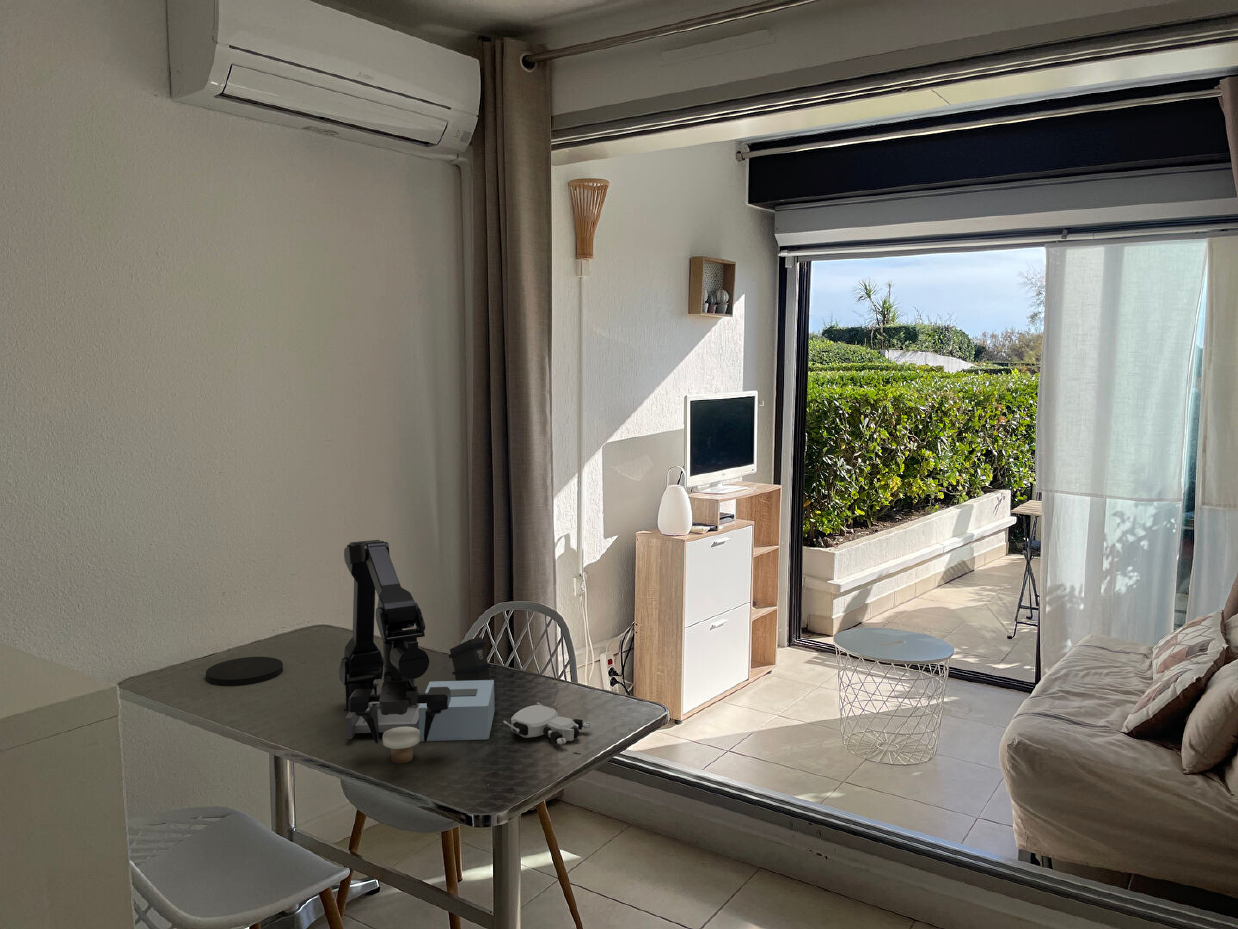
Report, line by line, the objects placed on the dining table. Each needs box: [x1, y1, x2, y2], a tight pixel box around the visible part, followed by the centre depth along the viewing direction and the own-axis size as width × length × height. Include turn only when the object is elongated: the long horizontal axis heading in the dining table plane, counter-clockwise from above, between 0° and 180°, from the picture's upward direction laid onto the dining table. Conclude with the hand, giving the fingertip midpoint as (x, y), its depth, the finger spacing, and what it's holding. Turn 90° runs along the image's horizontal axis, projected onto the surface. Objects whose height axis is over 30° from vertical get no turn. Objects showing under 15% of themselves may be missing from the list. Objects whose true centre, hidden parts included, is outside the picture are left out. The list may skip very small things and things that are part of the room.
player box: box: [418, 679, 496, 742], centre depth 196 cm, size 14×16×7 cm
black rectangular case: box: [448, 636, 492, 681], centre depth 211 cm, size 4×13×15 cm, turn 40°
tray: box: [344, 703, 420, 740], centre depth 195 cm, size 14×17×4 cm
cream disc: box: [382, 727, 421, 749], centre depth 179 cm, size 7×7×2 cm
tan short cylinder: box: [390, 746, 414, 764], centre depth 179 cm, size 4×4×4 cm
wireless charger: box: [205, 656, 284, 687], centre depth 231 cm, size 18×18×2 cm
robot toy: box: [502, 702, 591, 745], centre depth 191 cm, size 12×4×15 cm
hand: (401, 742), depth 179 cm, fingers open, 9 cm apart
